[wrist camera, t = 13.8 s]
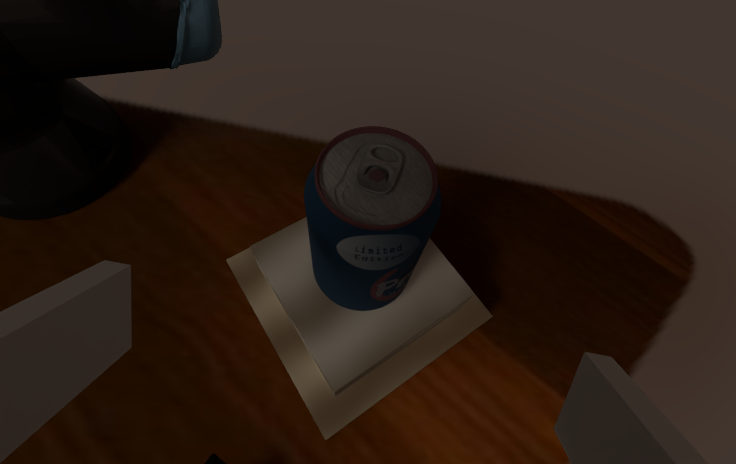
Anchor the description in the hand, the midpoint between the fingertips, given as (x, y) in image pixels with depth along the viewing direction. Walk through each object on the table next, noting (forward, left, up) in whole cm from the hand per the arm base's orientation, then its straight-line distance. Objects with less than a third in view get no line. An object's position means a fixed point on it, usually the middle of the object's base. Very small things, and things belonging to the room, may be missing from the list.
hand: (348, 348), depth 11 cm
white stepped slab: (-6, +6, -23) cm, 24 cm away
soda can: (-6, +6, -15) cm, 17 cm away
